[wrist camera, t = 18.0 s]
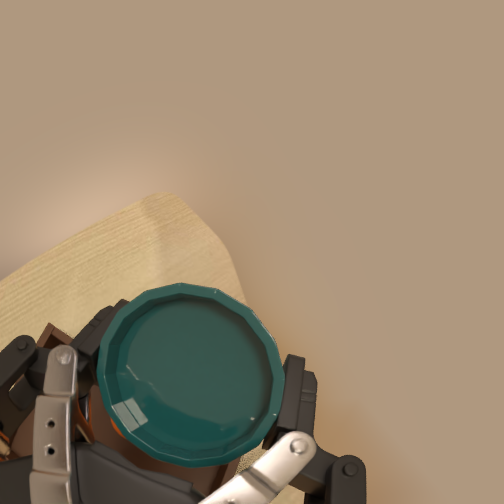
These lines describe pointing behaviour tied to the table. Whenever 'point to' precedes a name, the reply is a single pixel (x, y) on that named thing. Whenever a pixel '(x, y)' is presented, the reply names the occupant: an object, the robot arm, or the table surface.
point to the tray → (118, 436)
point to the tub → (190, 375)
